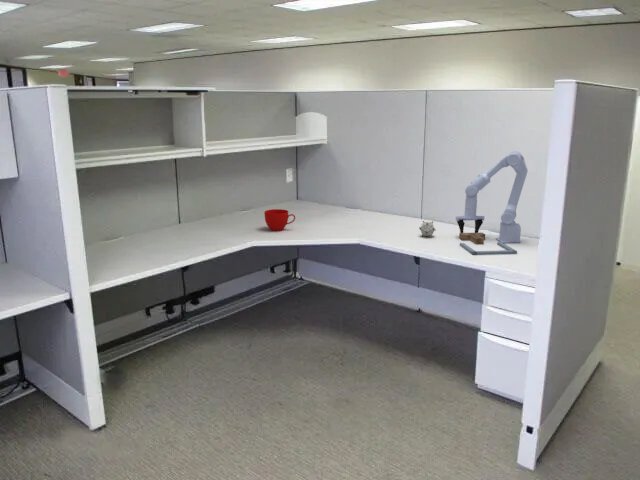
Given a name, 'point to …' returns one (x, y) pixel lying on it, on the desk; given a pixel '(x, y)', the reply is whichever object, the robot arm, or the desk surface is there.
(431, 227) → the grey spiky ball
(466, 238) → the walnut T-block
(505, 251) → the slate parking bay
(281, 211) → the ceramic cup
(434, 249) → the desk surface
